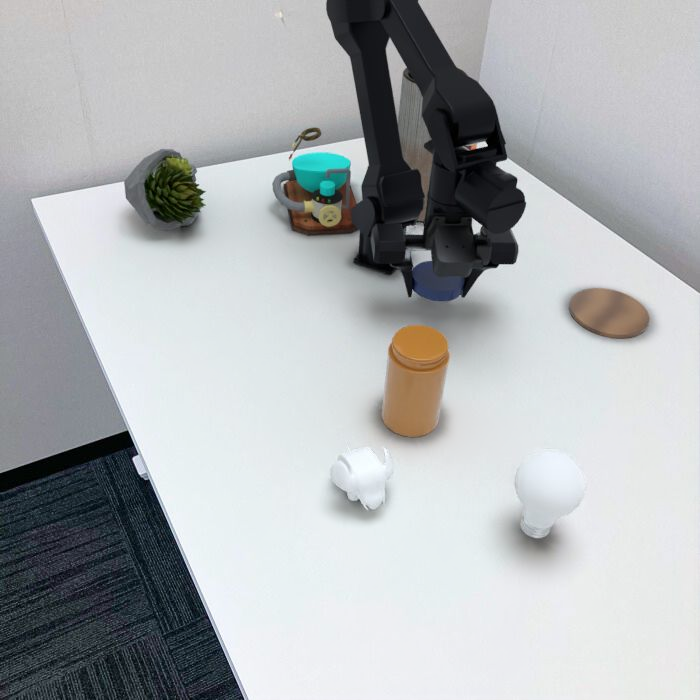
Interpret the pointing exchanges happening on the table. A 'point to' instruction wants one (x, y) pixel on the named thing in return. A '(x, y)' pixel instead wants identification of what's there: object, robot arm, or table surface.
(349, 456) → the elephant figurine
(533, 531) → the light bulb
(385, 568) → the table surface
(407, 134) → the planter
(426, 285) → the jar lid
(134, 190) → the potted plant
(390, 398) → the jar
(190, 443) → the table surface
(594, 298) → the coaster
